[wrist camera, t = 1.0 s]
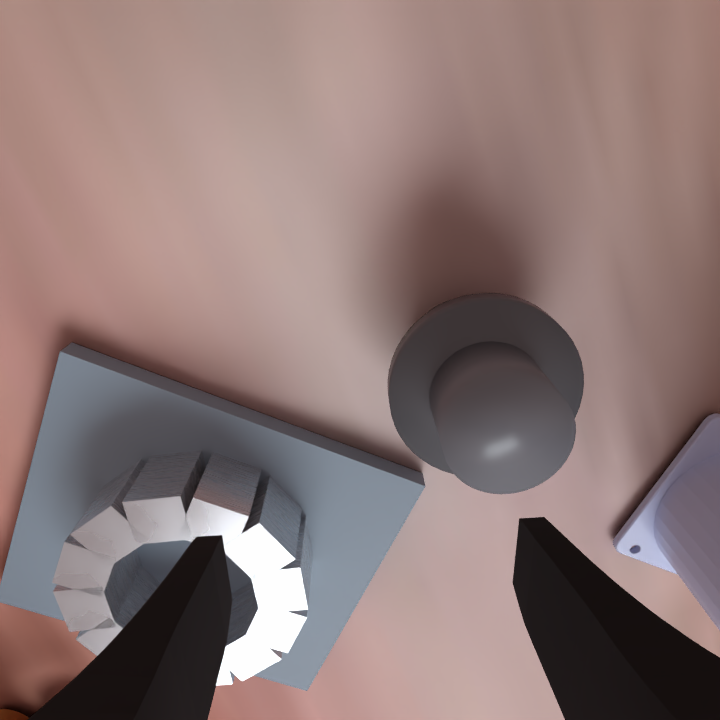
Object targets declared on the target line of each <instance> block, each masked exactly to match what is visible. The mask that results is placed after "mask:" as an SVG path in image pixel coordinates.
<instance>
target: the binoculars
mask: <svg viewBox="0 0 720 720" xmlns="http://www.w3.org/2000/svg"><path fill="white" fill-rule="evenodd" d="M27 719H29V717H27V716H25V715H23V714H21V713H20V712H16V711H13V710H8V709H0V720H27Z"/></svg>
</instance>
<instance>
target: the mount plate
mask: <svg viewBox="0 0 720 720" xmlns="http://www.w3.org/2000/svg"><path fill="white" fill-rule="evenodd" d="M201 450H202V453H203V457H204V461H205V465H206V466H207V464H208V462H209V459H210V457H211V455H212V452H215V453H218V454H221V455H223V456H226V457H229V458H232V459H235V460H237V461H240V462H243V463H246V464H249V465H251V466H254V467H257V468H260V469H262V470H261V474H260V477H259V481H258V483H259V482H260V481H262V480H263V479H265V478H266V477H268V476H269V475H271V476H272V477H273V478H274V479H275V480H276V481H277V482H278V483H279V484H280V485H281V486H282V487H283V489H284V490H285V491H286V492H287V493H288V494H289V495H290V496H291V497H292V498H293V499H294V500H295V501H296V502H297V503H298V504H299V505H300V507H301V508H302V512H301V516H306V518H307V524H308V529H309V535H310V540H311V546H312V552H313V560H312V571H311V582H310V593H309V604H308V609H307V618H306V620H305V622H304V624H303V626H302V627H301V629H300V631H299V633H298V635H297V637H296V639H295V640H294V642H293V644H292V646H291V648H290V650H289V652H288V653H285V652H282V658H281V660H279V661H277V662H276V663H274V664H272V665H270V666H269V667H267V668H265V669H263V670H261V671H260V672H258V673H256V674H254V676H257V677H261V678H264V679H268V680H271V681H275V682H278V683H281V684H285V685H288V686H292V687H295V688H299V689H302V690H306V691H307V690H308V689H309V687H310V685H311V683H312V682H313V680H314V678H315V676H316V675H317V673H318V671H319V670H320V668H321V666H322V664H323V663H324V661H325V659H326V657H327V656H328V654H329V652H330V650H331V649H332V647H333V645H334V644H335V642H336V640H337V638H338V637H339V635H340V633H341V631H342V630H343V628H344V626H345V624H346V623H347V621H348V619H349V618H350V616H351V614H352V612H353V611H354V609H355V607H356V605H357V604H358V602H359V600H360V598H361V597H362V595H363V593H364V592H365V590H366V588H367V586H368V585H369V583H370V581H371V579H372V578H373V576H374V574H375V572H376V571H377V569H378V567H379V566H380V564H381V562H382V560H383V559H384V557H385V555H386V553H387V552H388V550H389V548H390V546H391V545H392V543H393V541H394V540H395V538H396V536H397V534H398V533H399V531H400V529H401V527H402V526H403V524H404V522H405V520H406V519H407V517H408V515H409V514H410V512H411V510H412V508H413V507H414V505H415V503H416V501H417V500H418V498H419V496H420V494H421V493H422V491H423V489H424V488H425V483H424V478H423V473H420V472H418V471H415V470H412V469H410V468H407V467H404V466H402V465H399V464H396V463H394V462H391V461H388V460H386V459H383V458H380V457H377V456H375V455H372V454H369V453H367V452H364V451H361V450H359V449H356V448H353V447H351V446H348V445H345V444H343V443H340V442H337V441H335V440H332V439H329V438H327V437H324V436H321V435H319V434H316V433H313V432H311V431H308V430H305V429H302V428H300V427H297V426H294V425H292V424H289V423H286V422H284V421H281V420H278V419H276V418H273V417H270V416H268V415H265V414H262V413H260V412H257V411H254V410H252V409H249V408H246V407H244V406H241V405H238V404H236V403H233V402H230V401H227V400H225V399H222V398H219V397H217V396H214V395H211V394H209V393H206V392H203V391H201V390H198V389H195V388H193V387H190V386H187V385H185V384H182V383H179V382H177V381H174V380H171V379H169V378H166V377H163V376H161V375H158V374H155V373H152V372H150V371H147V370H144V369H142V368H139V367H136V366H134V365H131V364H128V363H126V362H123V361H120V360H118V359H115V358H112V357H110V356H107V355H104V354H102V353H99V352H96V351H94V350H91V349H88V348H85V347H83V346H80V345H77V344H75V343H70V344H69V345H68V346H66V347H65V348H64V349H62V350H61V351H60V353H59V357H58V361H57V365H56V369H55V373H54V377H53V381H52V384H51V388H50V392H49V396H48V400H47V404H46V408H45V412H44V416H43V420H42V424H41V428H40V431H39V435H38V439H37V443H36V447H35V451H34V455H33V459H32V463H31V467H30V471H29V474H28V478H27V482H26V486H25V490H24V494H23V498H22V502H21V506H20V510H19V514H18V517H17V521H16V525H15V529H14V533H13V537H12V541H11V545H10V549H9V553H8V557H7V560H6V564H5V568H4V572H3V576H2V580H1V584H0V602H1V603H4V604H8V605H11V606H15V607H18V608H22V609H25V610H29V611H32V612H36V613H39V614H43V615H46V616H49V617H53V618H56V619H60V620H63V621H65V620H64V617H63V615H62V613H61V610H60V608H59V605H58V603H57V601H56V598H55V596H54V593H53V590H54V589H55V587H56V586H57V584H55V583H52V581H53V578H54V575H55V571H56V568H57V565H58V561H59V558H60V555H61V551H62V548H63V545H64V542H65V540H66V539H67V537H68V536H69V535H70V533H71V532H72V530H73V529H74V527H75V526H76V525H77V523H78V522H79V520H80V519H81V518H82V516H83V515H84V513H85V512H86V510H87V509H88V508H89V506H90V505H91V503H92V502H93V500H94V499H95V498H96V496H97V495H98V493H99V492H100V491H101V489H102V488H103V487H104V485H105V484H107V483H108V482H110V481H111V480H112V479H114V478H115V477H117V476H118V475H119V474H121V473H122V472H124V471H125V470H126V469H128V468H129V467H131V466H132V465H134V464H135V463H136V462H138V461H139V460H141V459H142V460H143V461H144V462H145V463H147V461H148V459H149V458H150V456H152V455H162V454H171V453H181V452H191V451H201ZM190 543H191V542H190V541H187V540H179V541H168V542H158V543H148V544H143V545H141V546H140V547H138V548H137V552H138V555H139V558H140V561H141V564H142V566H143V567H144V568H145V569H146V570H147V571H148V572H150V573H151V574H152V575H153V576H154V577H155V578H156V579H158V580H159V581H160V582H162V581H163V580H164V579H165V577H166V576H167V575H168V573H169V572H170V571H171V569H172V568H173V567H174V565H175V564H176V563H177V561H178V560H179V559H180V557H181V556H182V554H183V553H184V552H185V550H186V549H187V548H188V546H189V545H190ZM225 556H226V562H227V568H228V575H229V581H230V587H231V593H234V592H236V591H237V590H239V589H241V588H242V587H244V586H246V585H247V584H249V583H251V582H252V578H251V577H249V576H248V575H247V574H246V573H245V572H244V571H243V570H242V569H241V568H240V567H239V566H238V565H237V564H236V563H235V562H234V561H233V560H232V559H231V558H229V557H228V556H227V555H226V554H225Z"/></svg>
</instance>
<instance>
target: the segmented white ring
mask: <svg viewBox="0 0 720 720" xmlns="http://www.w3.org/2000/svg"><path fill="white" fill-rule="evenodd" d="M261 470H262V469H260V468H257V467H254V466H251V465H249V464H246V463H243V462H240V461H237V460H235V459H232V458H229V457H226V456H223V455H221V454H218V453H215V452H212V455H211V457H210V459H209V462H208V464H207V466H206V465H205V461H204V457H203V453H202V450H201V451H191V452H181V453H171V454H162V455H152V456H150V458H149V459H148V461H147V463H145V462H144V461H143V460H142V459H141V460H139V461H138V462H136V463H135V464H134V465H132V466H131V467H129V468H128V469H126V470H125V471H124V472H122V473H121V474H119V475H118V476H117V477H115V478H114V479H112V480H111V481H110V482H108V483H107V484H105V485H104V487H103V488H102V489H101V491H100V492H99V493H98V495H97V496H96V498H95V499H94V500H93V502H92V503H91V505H90V506H89V508H88V509H87V510H86V512H85V513H84V515H83V516H82V518H81V519H80V520H79V522H78V523H77V525H76V526H75V527H74V529H73V530H72V532H71V533H70V535H69V536H68V537H67V539H66V540H65V542H64V545H63V548H62V551H61V555H60V558H59V561H58V565H57V568H56V571H55V575H54V578H53V581H52V583H55V584H57V586H56V587H55V589H54V590H53V593H54V596H55V598H56V601H57V603H58V605H59V608H60V610H61V613H62V615H63V617H64V620H65V622H66V624H67V627H68V629H69V632H73V631H80V632H79V634H78V636H77V638H76V640H77V641H78V642H80V643H81V644H82V645H84V646H85V647H86V648H87V649H89V650H90V651H91V652H93V653H94V654H95V655H96V656H98V655H99V654H100V653H101V652H102V651H103V650H104V649H105V648H106V647H107V646H108V644H109V643H110V642H111V641H112V640H113V639H114V638H115V637H116V636H117V635H118V634H119V632H120V631H121V630H122V629H123V628H124V627H125V626H126V624H127V623H128V622H129V621H130V620H131V619H132V618H133V617H134V615H135V614H136V613H137V612H138V611H139V610H140V608H141V607H142V606H143V605H144V604H145V602H146V601H147V600H148V599H149V597H150V596H151V595H152V594H153V592H154V591H155V590H156V589H157V587H158V586H159V585H160V584H161V582H160V581H159V580H158V579H156V578H155V577H154V576H153V575H152V574H151V573H150V572H148V571H147V570H146V569H145V568H144V567H143V566H142V564H141V561H140V558H139V555H138V552H137V548H138V547H140V546H141V545H143V544H148V543H158V542H168V541H179V540H187V541H190V542H192V541H193V540H194V539H195V538H196V537H198V536H215V535H222V537H223V544H224V550H225V554H226V555H227V556H228V557H229V558H231V559H232V560H233V561H234V562H235V563H236V564H237V565H238V566H239V567H240V568H241V569H242V570H243V571H244V572H245V573H246V574H247V575H248V576H249V577H251V578H252V582H251V583H249V584H247V585H246V586H244V587H242V588H241V589H239V590H237V591H236V592H234V593H232V607H231V615H230V623H229V630H228V637H227V643H226V648H225V652H224V656H223V660H222V664H221V668H220V672H219V676H218V680H217V684H216V685H227V684H233V681H234V676H235V675H236V676H237V677H238V678H239V679H240V680H241V681H244V680H245V679H247V678H249V677H251V676H252V675H254V674H256V673H258V672H260V671H261V670H263V669H265V668H267V667H269V666H270V665H272V664H274V663H276V662H277V661H279V660H281V658H282V652H285V653H288V652H289V650H290V648H291V646H292V644H293V642H294V640H295V639H296V637H297V635H298V633H299V631H300V629H301V627H302V626H303V624H304V622H305V620H306V618H307V609H308V604H309V593H310V582H311V571H312V560H313V552H312V546H311V540H310V535H309V529H308V524H307V518H306V516H301V512H302V508H301V507H300V505H299V504H298V503H297V502H296V501H295V500H294V499H293V498H292V497H291V496H290V495H289V494H288V493H287V492H286V491H285V490H284V489H283V487H282V486H281V485H280V484H279V483H278V482H277V481H276V480H275V479H274V478H273V477H272V476H271V475H269V476H268V477H266V478H265V479H263V480H262V481H260V482H259V483H258V481H259V477H260V474H261Z"/></svg>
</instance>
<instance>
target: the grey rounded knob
mask: <svg viewBox="0 0 720 720" xmlns="http://www.w3.org/2000/svg"><path fill="white" fill-rule="evenodd" d="M583 387H584V374H583V368H582V362H581V359H580V356H579V353H578V350H577V348H576V346H575V345H574V343H573V341H572V339H571V338H570V337H569V335H568V334H567V333H566V331H565V330H564V329H563V328H562V327H561V326H560V325H559V324H558V323H557V322H556V321H555V320H554V319H552V318H551V317H550V316H549V315H548V314H547V313H546V312H544V311H543V310H542V309H540V308H539V307H537V306H536V305H534V304H532V303H530V302H528V301H526V300H523V299H520V298H518V297H514V296H510V295H505V294H497V293H479V294H472V295H466V296H462V297H459V298H456V299H452V300H449V301H446V302H444V303H442V304H440V305H438V306H436V307H435V308H433V309H432V310H430V311H429V312H428V313H427V314H425V315H424V316H423V317H421V318H420V319H419V320H418V321H417V322H416V323H415V324H414V325H413V326H412V327H411V328H410V329H409V330H408V332H407V333H406V334H405V335H404V337H403V338H402V340H401V341H400V343H399V345H398V347H397V348H396V351H395V353H394V355H393V358H392V361H391V365H390V368H389V374H388V396H389V403H390V409H391V415H392V419H393V422H394V425H395V427H396V429H397V431H398V433H399V435H400V437H401V438H402V440H403V441H404V443H405V444H406V445H407V446H408V447H409V449H410V450H411V451H412V452H413V453H414V454H416V455H417V456H418V457H419V458H420V459H422V460H423V461H425V462H426V463H428V464H430V465H431V466H433V467H436V468H438V469H440V470H442V471H445V472H449V473H452V474H455V475H456V476H457V478H459V479H460V480H461V481H462V482H463V483H465V484H467V485H468V486H470V487H472V488H474V489H477V490H480V491H483V492H487V493H493V494H510V493H517V492H521V491H525V490H528V489H530V488H533V487H535V486H537V485H539V484H541V483H543V482H544V481H546V480H547V479H549V478H550V477H551V476H552V475H554V474H555V473H556V472H557V471H558V470H559V469H560V468H561V467H562V465H563V464H564V463H565V461H566V460H567V458H568V456H569V455H570V452H571V450H572V448H573V444H574V441H575V434H576V424H575V417H576V414H577V412H578V409H579V407H580V403H581V399H582V395H583Z"/></svg>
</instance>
